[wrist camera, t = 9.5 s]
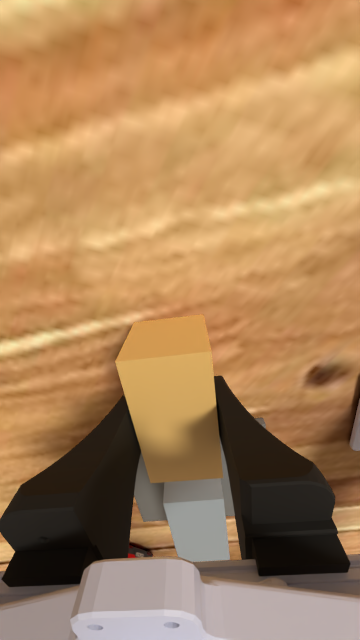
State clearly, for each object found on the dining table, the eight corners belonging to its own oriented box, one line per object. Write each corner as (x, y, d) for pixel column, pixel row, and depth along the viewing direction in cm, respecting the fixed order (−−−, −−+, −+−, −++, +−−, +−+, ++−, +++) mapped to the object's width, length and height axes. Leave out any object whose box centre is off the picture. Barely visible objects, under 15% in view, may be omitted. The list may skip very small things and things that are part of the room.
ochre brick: (203, 314, 13) (211, 351, 9) (214, 419, 16) (223, 477, 12) (134, 322, 13) (114, 361, 10) (157, 424, 16) (150, 483, 13)
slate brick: (215, 443, 19) (223, 499, 15) (221, 502, 22) (229, 559, 18) (166, 448, 19) (163, 503, 15) (180, 505, 22) (179, 562, 18)
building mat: (262, 417, 18) (265, 424, 18) (261, 506, 23) (263, 513, 22) (115, 431, 19) (113, 437, 18) (144, 514, 24) (143, 521, 23)
